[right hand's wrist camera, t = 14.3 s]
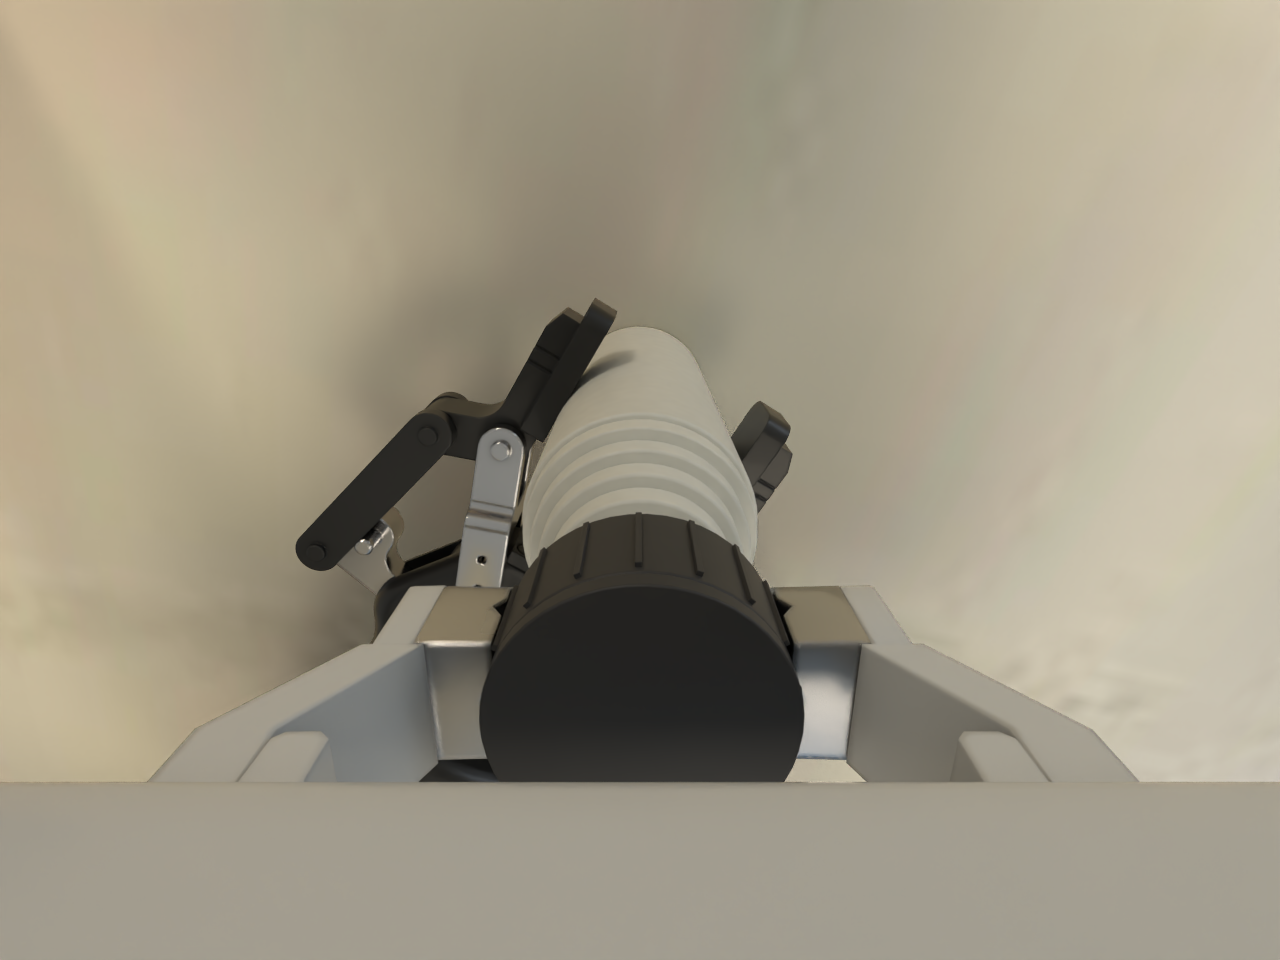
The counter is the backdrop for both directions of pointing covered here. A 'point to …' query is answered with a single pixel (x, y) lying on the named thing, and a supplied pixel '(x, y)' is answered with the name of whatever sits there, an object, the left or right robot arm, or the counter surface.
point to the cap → (641, 663)
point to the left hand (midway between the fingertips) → (689, 363)
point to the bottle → (639, 448)
